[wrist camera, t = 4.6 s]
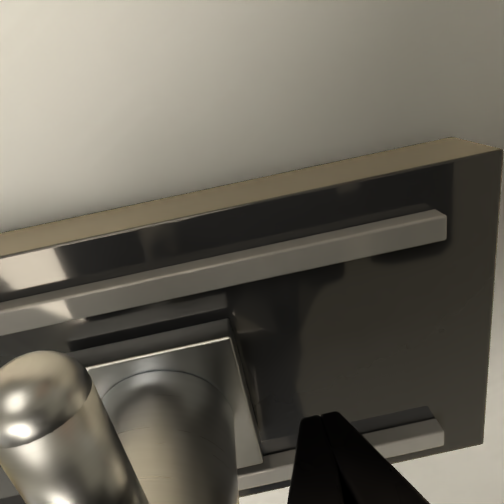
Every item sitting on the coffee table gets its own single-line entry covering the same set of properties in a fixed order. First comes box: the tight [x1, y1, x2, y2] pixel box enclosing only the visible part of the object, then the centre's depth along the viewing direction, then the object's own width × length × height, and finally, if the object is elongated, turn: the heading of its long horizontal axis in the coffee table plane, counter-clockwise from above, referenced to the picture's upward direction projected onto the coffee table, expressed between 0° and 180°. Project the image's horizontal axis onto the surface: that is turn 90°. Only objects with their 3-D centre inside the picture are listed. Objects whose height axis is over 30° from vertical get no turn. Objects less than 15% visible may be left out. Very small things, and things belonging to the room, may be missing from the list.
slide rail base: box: [0, 137, 504, 504], centre depth 11 cm, size 9×18×2 cm, turn 101°
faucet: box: [0, 318, 263, 504], centre depth 7 cm, size 7×4×5 cm, turn 11°
